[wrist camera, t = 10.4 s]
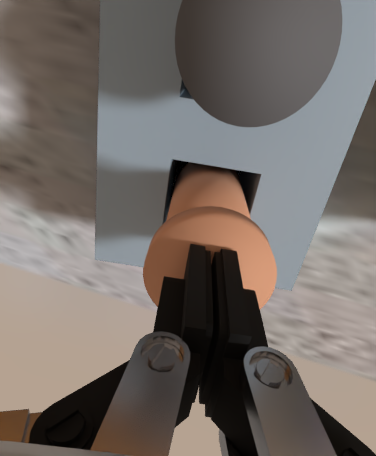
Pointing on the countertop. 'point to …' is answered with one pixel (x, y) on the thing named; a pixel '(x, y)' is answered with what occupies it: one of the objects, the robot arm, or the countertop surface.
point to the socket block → (215, 136)
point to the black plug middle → (256, 55)
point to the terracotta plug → (209, 231)
